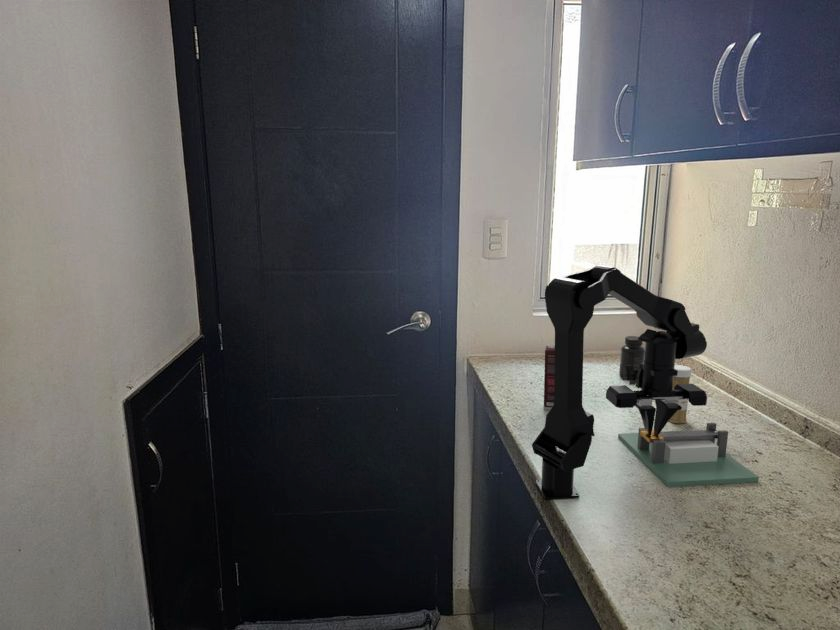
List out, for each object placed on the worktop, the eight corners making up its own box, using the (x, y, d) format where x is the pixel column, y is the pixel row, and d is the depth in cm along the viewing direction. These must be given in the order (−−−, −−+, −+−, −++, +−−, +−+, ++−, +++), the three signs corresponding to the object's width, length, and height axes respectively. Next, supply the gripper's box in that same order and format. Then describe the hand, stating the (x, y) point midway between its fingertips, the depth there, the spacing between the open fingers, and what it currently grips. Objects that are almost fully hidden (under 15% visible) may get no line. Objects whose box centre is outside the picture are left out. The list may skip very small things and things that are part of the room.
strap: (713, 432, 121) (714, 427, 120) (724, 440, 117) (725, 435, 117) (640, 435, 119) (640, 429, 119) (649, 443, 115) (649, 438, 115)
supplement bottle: (614, 375, 172) (616, 336, 170) (631, 371, 175) (633, 333, 173) (631, 381, 166) (633, 341, 164) (648, 378, 169) (651, 339, 167)
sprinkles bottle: (686, 425, 135) (691, 371, 133) (665, 422, 137) (670, 368, 134) (686, 418, 140) (691, 365, 137) (665, 415, 141) (670, 363, 138)
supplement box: (577, 406, 148) (580, 347, 145) (577, 413, 144) (580, 352, 140) (543, 403, 150) (545, 345, 147) (542, 410, 146) (544, 349, 142)
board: (758, 481, 109) (762, 450, 108) (667, 487, 108) (670, 455, 106) (694, 434, 131) (697, 407, 129) (618, 437, 129) (619, 410, 128)
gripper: (682, 349, 123) (675, 418, 126) (598, 351, 121) (593, 421, 124) (712, 365, 112) (704, 439, 115) (620, 367, 110) (614, 443, 114)
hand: (652, 434), depth 117 cm, fingers closed, pressing on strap
